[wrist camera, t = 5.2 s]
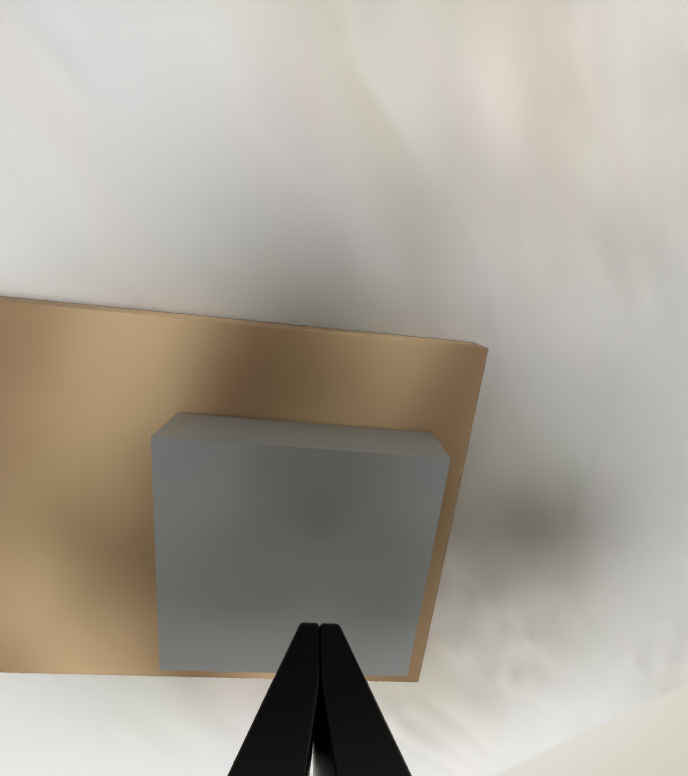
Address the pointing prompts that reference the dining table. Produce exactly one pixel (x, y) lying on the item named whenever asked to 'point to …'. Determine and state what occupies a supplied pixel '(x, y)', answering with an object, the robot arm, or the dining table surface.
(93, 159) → the dining table surface
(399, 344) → the board
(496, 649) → the dining table surface
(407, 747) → the dining table surface
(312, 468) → the tile
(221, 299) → the dining table surface
